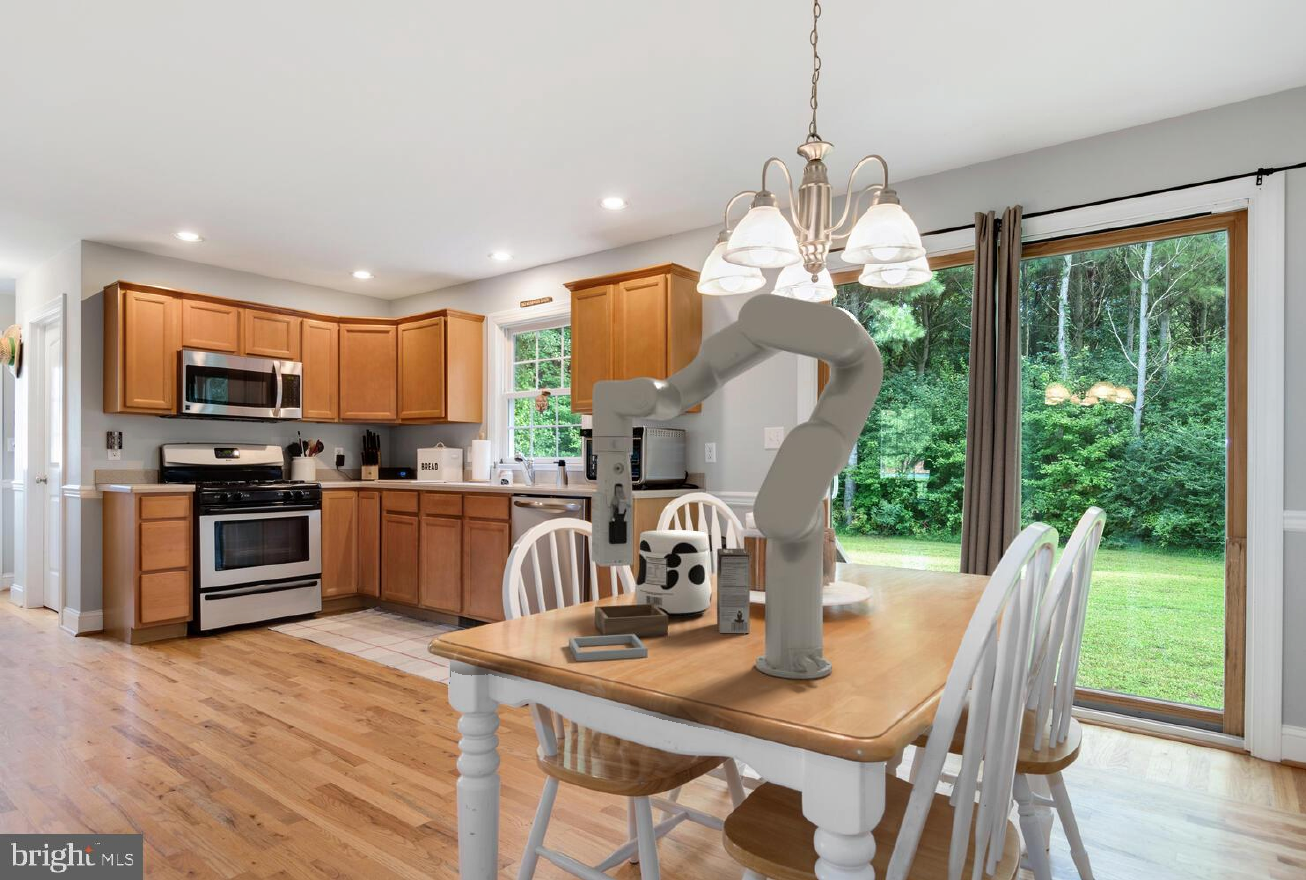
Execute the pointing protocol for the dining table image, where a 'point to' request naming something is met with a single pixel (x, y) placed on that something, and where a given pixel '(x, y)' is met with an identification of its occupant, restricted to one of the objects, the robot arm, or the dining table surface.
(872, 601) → the dining table surface
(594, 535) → the small box
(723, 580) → the coffee box
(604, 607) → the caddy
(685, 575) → the milk container
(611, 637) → the tray
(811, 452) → the robot arm
